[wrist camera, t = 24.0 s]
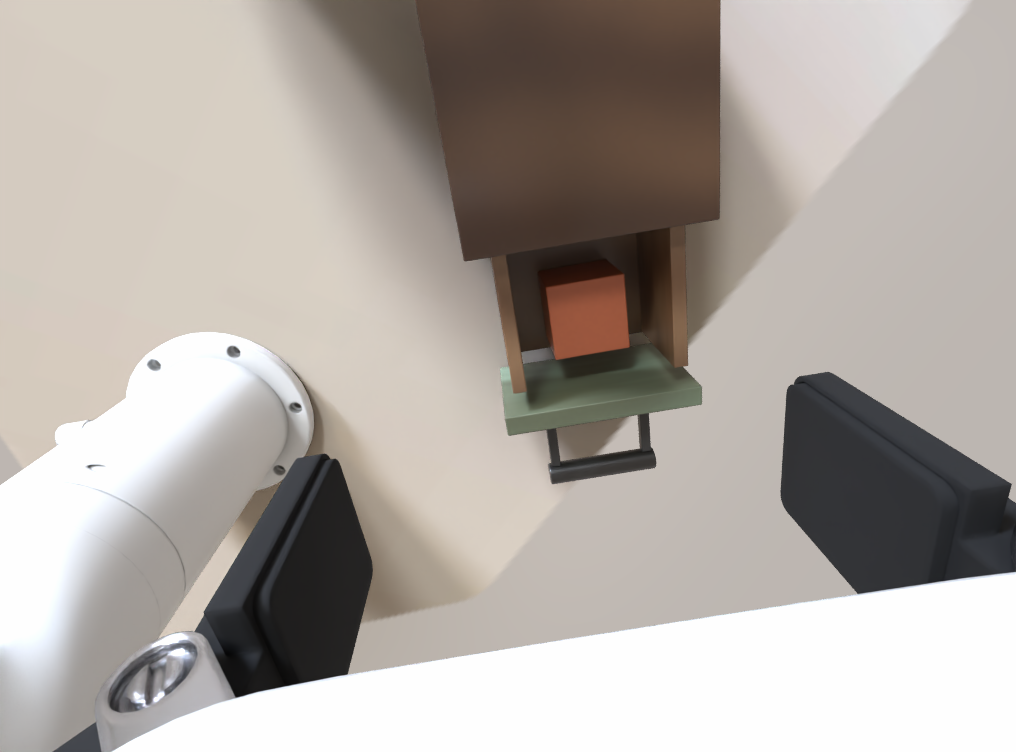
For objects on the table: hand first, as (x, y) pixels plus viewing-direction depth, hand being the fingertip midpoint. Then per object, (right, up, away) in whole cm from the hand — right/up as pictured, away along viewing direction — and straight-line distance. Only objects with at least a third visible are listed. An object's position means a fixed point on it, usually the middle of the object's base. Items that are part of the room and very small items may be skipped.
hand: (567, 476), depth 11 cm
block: (+3, +7, +24) cm, 25 cm away
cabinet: (+1, +19, +21) cm, 28 cm away
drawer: (+3, +6, +25) cm, 26 cm away
